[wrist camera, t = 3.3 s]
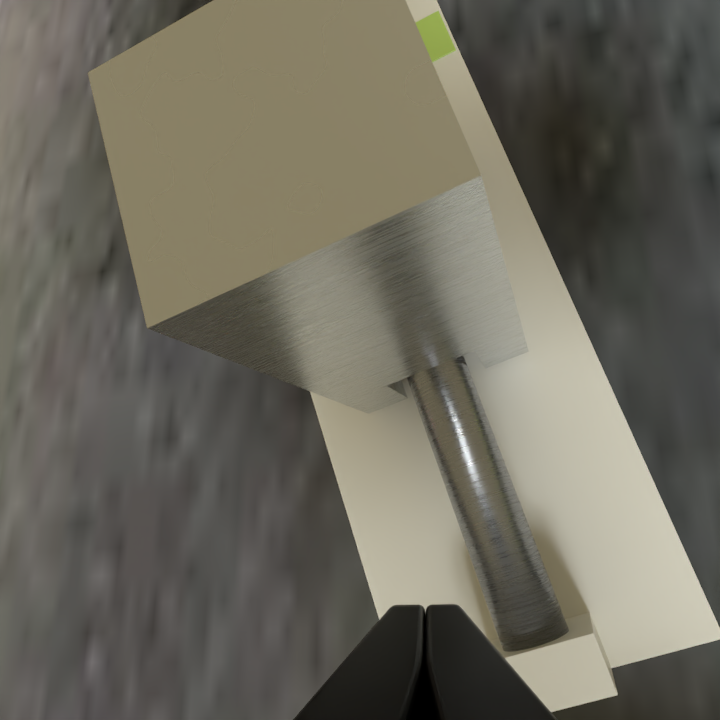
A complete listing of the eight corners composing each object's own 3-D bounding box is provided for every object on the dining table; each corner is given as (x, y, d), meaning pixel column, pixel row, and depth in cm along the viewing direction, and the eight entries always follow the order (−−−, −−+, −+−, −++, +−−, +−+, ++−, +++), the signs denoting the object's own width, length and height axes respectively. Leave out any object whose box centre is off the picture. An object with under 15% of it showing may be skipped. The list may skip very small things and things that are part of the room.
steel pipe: (572, 621, 17) (573, 636, 16) (503, 641, 18) (495, 659, 16) (329, -6, 24) (309, -47, 22) (282, 20, 24) (259, -19, 23)
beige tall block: (528, 351, 19) (481, 176, 9) (368, 413, 21) (146, 328, 10) (471, 213, 21) (367, -88, 10) (323, 278, 22) (88, 72, 11)
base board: (719, 633, 17) (753, 665, 14) (415, 715, 19) (385, 759, 16) (409, -56, 25) (386, -136, 22) (212, 53, 27) (164, -6, 24)
